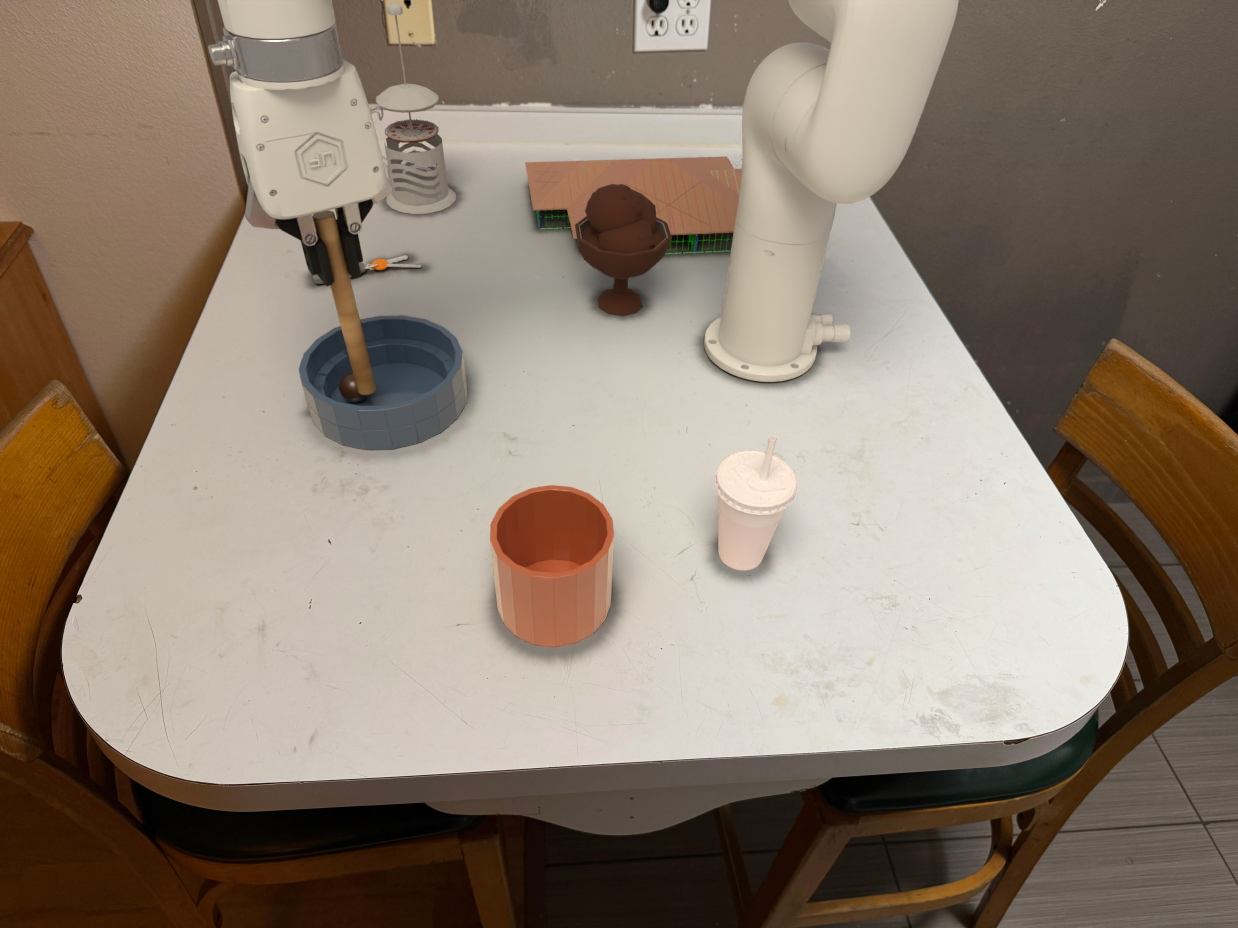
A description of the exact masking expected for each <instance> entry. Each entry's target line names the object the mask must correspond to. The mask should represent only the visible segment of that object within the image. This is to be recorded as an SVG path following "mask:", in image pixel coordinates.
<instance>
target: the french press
mask: <svg viewBox="0 0 1238 928" xmlns="http://www.w3.org/2000/svg"><path fill="white" fill-rule="evenodd" d="M386 11H387V15H389V16H394V20H395V25H396V33H397V41H398V46H399V47H398V48H399V55H400V63H401V68H402V69H401V70H402V75H403V82H404V83H401V84H397V85H392V86H389V87H387V88H386V89H385V90H383V91H382V92H380V93H379V94H378V95H376V97H375V102H376V104H377V105H376V106H374V107H373V108H371V109H370V112H371V115H373V114H375V113H376V114H377V117H378V120H379V121H381V122H382V121H383V118H384V116H385V115H384V110H386V111H389V112H393V113H402V114H403V113H408V118H409V119H407V118H406V119H404V120H402V119H401V120H396V121H394V122H392V123H390V124H388V125H387V126H386V127H385V128H384V135H385V136H386V139H385V143H383V144H384V145H383V146H384V149H385V156H386V157H385V156H384V155H382V158H383V160H386V163H387V164H386V163H384V167H386V172H387V176H388V177H387V178H388V180H389V182H390V184H391V185H392V188H393V191H392V193H391V194H390V195H388V196H387V197H386V204H387V205H388V206H389V207H390V208H391V210H395V211H397V212H400V213H404V214H410V215H424V214H432V213H436V212H437V213H438V212H440V211H444V210H445V209H447V208H449V207H451V206H452V205H453V204H454V202H455V201H456V200H457V195H456V192H455V191H454V190H453V189H452V188H450V187H449V185H448V179H447V178H448V177H447V170H446V161H445V152H444V145H443V144H444V143H443V138H442V137H441V135H440V134H438V133H439V131H440V130H439V129H440V127H439V126H438V125H437V124H435V123H434V122H432V121H429V120H424V119H423V120H422V119H417V118H416V119H412V115H411V113H420V112H425V111H428V110H431V109H433V108H434V107H435V106H437V105H438V104H439V97H440V96H439V94H437V93H436V92H434V91H433V90H431V89H430V88H428V87H426V86H423V85H419V84H414V83H407V79H406V72H405V66H404V57H403V50H402V45H401V44H402V43H401V36H400V30H399V29H400V28H399V23H398V22H399V21H398V16H400V15H403V14H404V10H403V6H402V5H401V4H400V3H398V2H389V3H388V5H387V7H386ZM377 109H380V111H378V110H377ZM423 142H425V143H427V144H429V145H430V146H432V147H434V148H430V147H429V146H427V145H426V144H424V143H423ZM400 143H401V144H403V145H401V146H400V145H399V144H400ZM414 147H415V148H420V149H423V150H424V151H419V150H412V151H409V152H404V151H405V150H407V149H410V148H414ZM404 161H405V163H404V164H402V163H403V162H404ZM415 165H416V166H420V167H423V168H419V167H416V168H414V167H412V166H415ZM435 165H436V166H437V167H435ZM425 168H428V169H429V170H431V171H428V170H427V169H425ZM403 171H406V172H405V173H404V172H403ZM437 175H438V176H437Z"/></svg>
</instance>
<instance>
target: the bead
mask: <svg viewBox="0 0 1238 928" xmlns="http://www.w3.org/2000/svg"><path fill="white" fill-rule="evenodd" d="M339 391H340V394H341V395H342V397H343V398H344V399H346V400H347V401H349V402H354V403H356V402H361V401H363V400H365V399H366V398H367V397H368V395H361V394H359V393H358V390H357V387H356V383H355V379H354V375H353V373H348V374H346V375H345V376H344V377H343V378H342V379H341V381H340V383H339Z"/></svg>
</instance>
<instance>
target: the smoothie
mask: <svg viewBox="0 0 1238 928" xmlns="http://www.w3.org/2000/svg"><path fill="white" fill-rule="evenodd" d="M776 443H777V437H776V436H774V435H770V436H768V440H767V444H766V450H765V451H761V450H741V451H737V452H734V453H731V454H729V455H728V456H726V457H725V458H724V459H722V460H721V461H720V463H719V464H718V465H717V470H716V473H715V475H714V482H713V483H714V484H713V485H714V488H715V491H716V493H717V503H718V505H717V506H718V508H717V509H718V511H717V512H718V515H717V516H718V518H717V519H718V521H717V524H718V527H717V530H718V531H717V533H718V536H717V539H718V543H717V545H718V551H717V552H718V556H719V558H720V560H721V561H722V562H723V563H724V564H725V565H726V566H727V567H729V568H732V569H734V570H737V571H750V570H754V569H756V568H757V567H758V566H759V565H760V564H761V563H762V562H763V559H764V557H765V555H766V554H767V551H768V548H769V546H770V544H771V542H772V539H773V537H774V535H775V533H776V531H777V529H778V526H779V524H780V522H781V520H782V518H783V515H784V513H785V511H786V509H787V508H788V507H789V506H790V505H791V504H792V503H793V502H794V500H795V497H796V496H797V495H796V494H797V493H796V491H797V488H798V479H797V475H796V473H795V472H794V470H793V468H792V467H791V466H790V465H789V464H788V463H787V462H786V461H785V460H783V459H781V458H780V457H778V456H776V455H774V451H775V447H776Z"/></svg>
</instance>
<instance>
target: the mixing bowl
mask: <svg viewBox="0 0 1238 928" xmlns="http://www.w3.org/2000/svg"><path fill="white" fill-rule="evenodd" d="M360 322H361V326H362V330H363V334H364V338H365V342H366V347H367V351H368V355H369V359H370V363H371V367H372V371H373V376H374V380H375V384H376V391H375V392H374V393H372V394H369V395H368V397H367V398H366V399H365V400H363V401H361V402H356V403H354V402H349V401H347V400H346V399H344V398H343V397H342V395H341V394H340V391H339V383H340V381H341V379H342V378H343V377H344V376H345V375H346V374H348V373H353V371H352V367H351V364H350V360H349V356H348V352H347V348H346V344H345V340H344V337H343V333H342V329H341V325H339V326H336V327H334V328H332V329H331V330H329V331H327V332H325V333H324V334H322V335H321V336H319V337H318V338H316V339H315V340H314V341H313V342H312V344H311V345H310V346H309V347H308V348H307V349H306V350H305V352H303V355H302V357H301V360H300V364H299V366H298V374H299V378H300V383H301V387H302V390H303V394H304V396H305V400H306V404H307V406H308V410H309V413H310V417H311V420H312V423H313V424H314V425H315V427H316V428H317V429H318V430H319V431H320V433H322V435H323V436H325V438H328V439H330V440H332V441H334V442H336V443H338V444H339V445H341V446H344V447H349V448H355V449H360V450H365V451H382V450H383V451H384V450H385V451H386V450H396V449H401V448H405V447H409V446H413V445H418V444H421V443H422V442H425V441H427V440H429V439H431V438H433V437H435V436H437V435H440V434H441V433H443V432H444V431H445V430H446V429H447V428H449V427H450V426H451V425H452V424H454V422H456V421H457V420H458V418H459V417H460V415H461V414H462V411H463V409H464V408H465V407H466V405H467V399H468V397H467V396H468V385H467V384H468V383H467V375H466V368H465V358H464V352H463V351H464V350H463V348H462V346H461V345H460V342H459V340H458V338H457V337H456V336H455V335H454V334H453V333H452V332H450V331H449V330H448V329H447V328H446V327H444V326H443V325H441V324H438V323H436V322H434V321H431V320H428V319H426V318H421V317H415V316H409V315H402V314H401V315H377V316H369V317H365V318H360Z"/></svg>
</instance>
